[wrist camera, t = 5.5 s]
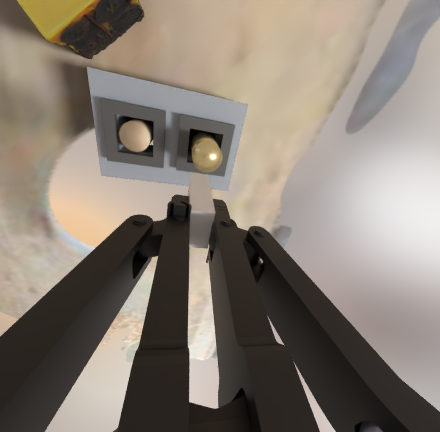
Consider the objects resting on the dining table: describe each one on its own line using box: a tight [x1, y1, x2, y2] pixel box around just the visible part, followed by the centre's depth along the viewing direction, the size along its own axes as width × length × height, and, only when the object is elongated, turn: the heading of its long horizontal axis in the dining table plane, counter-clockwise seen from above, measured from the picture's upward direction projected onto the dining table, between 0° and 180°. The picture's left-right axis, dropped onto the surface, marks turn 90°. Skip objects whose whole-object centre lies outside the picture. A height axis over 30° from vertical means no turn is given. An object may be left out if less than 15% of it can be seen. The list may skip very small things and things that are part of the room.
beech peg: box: [119, 118, 154, 152], centre depth 30 cm, size 4×4×7 cm
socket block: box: [87, 67, 248, 191], centre depth 31 cm, size 21×14×7 cm, turn 79°
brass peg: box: [191, 132, 222, 173], centre depth 28 cm, size 4×4×7 cm
